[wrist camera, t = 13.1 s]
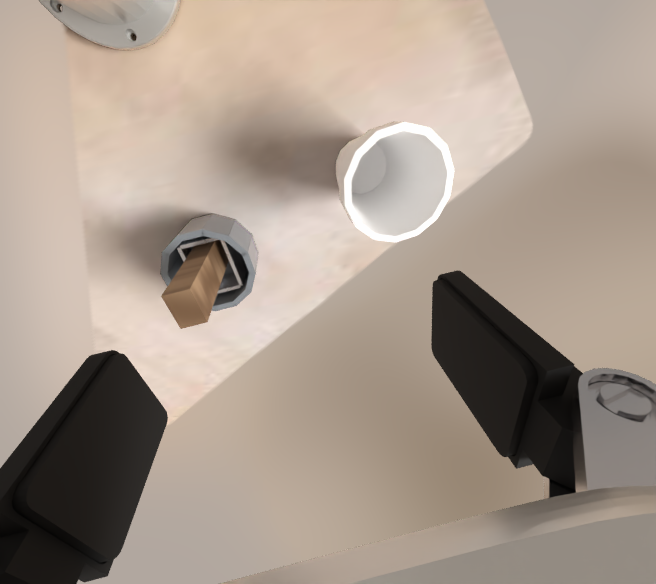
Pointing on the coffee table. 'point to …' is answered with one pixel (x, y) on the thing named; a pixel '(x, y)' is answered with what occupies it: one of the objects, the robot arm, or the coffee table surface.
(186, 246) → the grey hollow box
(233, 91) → the coffee table surface
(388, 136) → the foam cup
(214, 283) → the brown wooden bar
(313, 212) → the coffee table surface
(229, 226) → the faceted hollow tube
